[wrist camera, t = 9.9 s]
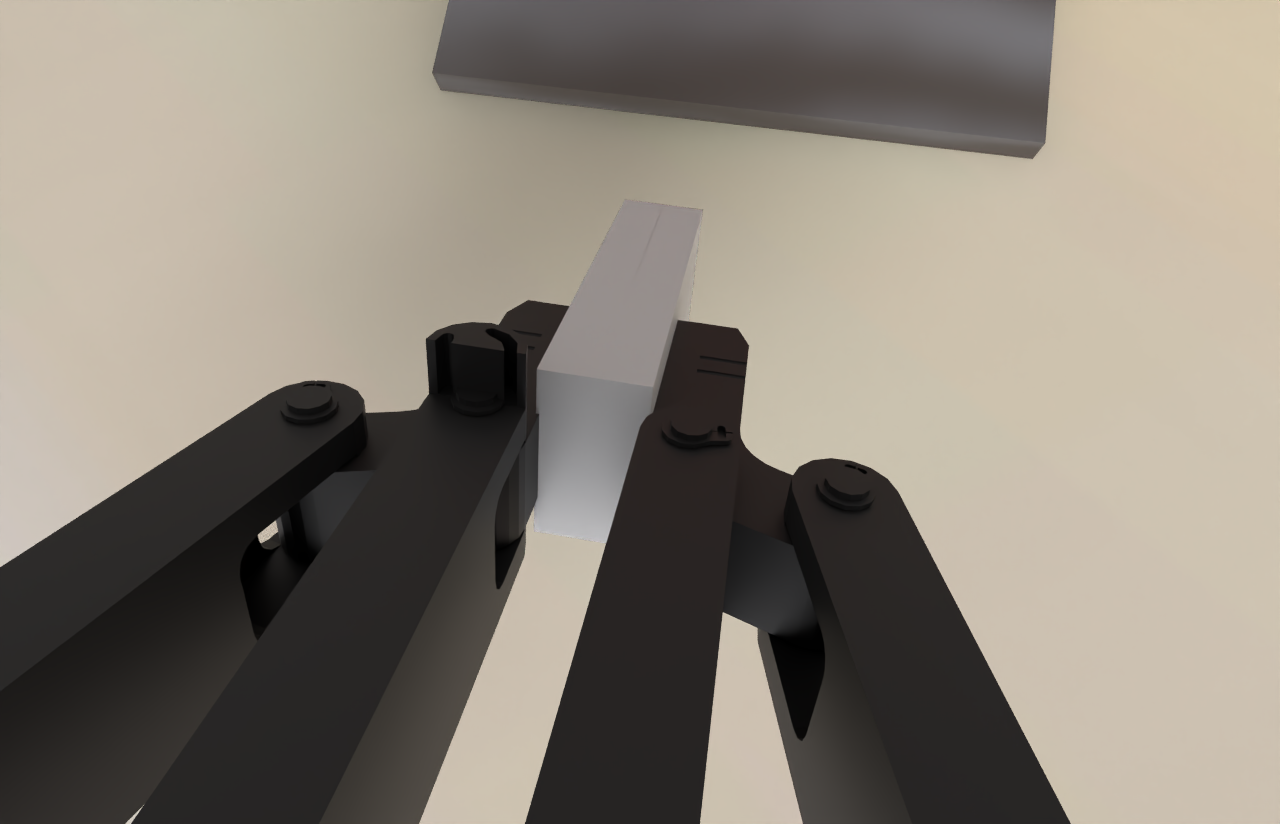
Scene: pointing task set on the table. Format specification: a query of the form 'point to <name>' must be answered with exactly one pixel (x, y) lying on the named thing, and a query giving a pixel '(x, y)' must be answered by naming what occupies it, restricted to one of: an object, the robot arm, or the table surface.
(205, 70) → the table surface
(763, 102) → the housing
